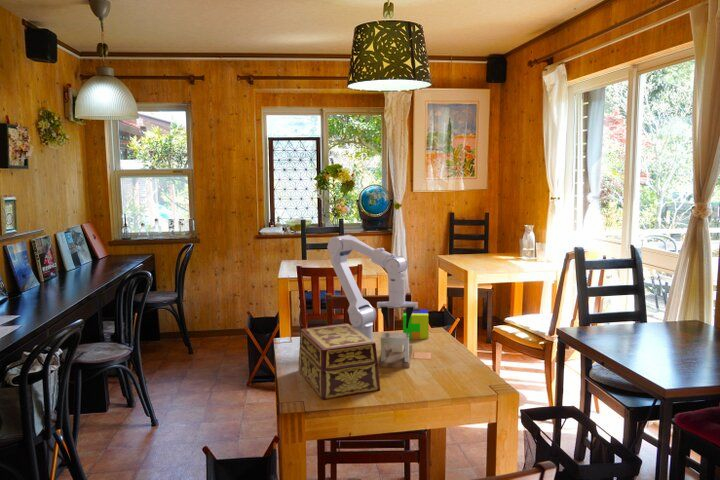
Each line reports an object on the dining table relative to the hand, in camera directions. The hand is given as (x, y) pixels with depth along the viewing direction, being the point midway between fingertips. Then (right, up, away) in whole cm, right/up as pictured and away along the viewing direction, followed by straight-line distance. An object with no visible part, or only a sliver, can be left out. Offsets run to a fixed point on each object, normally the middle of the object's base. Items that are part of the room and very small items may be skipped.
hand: (397, 327), depth 200 cm
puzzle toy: (+9, -8, +25) cm, 28 cm away
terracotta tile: (+9, -10, -1) cm, 14 cm away
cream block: (0, -10, +1) cm, 10 cm away
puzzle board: (-1, -11, -3) cm, 11 cm away
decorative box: (-21, -14, -22) cm, 33 cm away
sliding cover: (-1, -10, -9) cm, 13 cm away
